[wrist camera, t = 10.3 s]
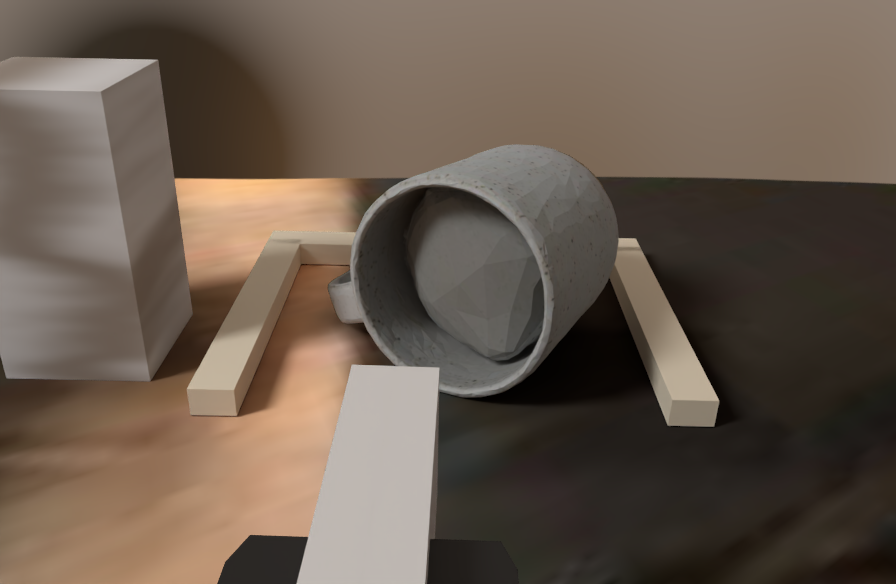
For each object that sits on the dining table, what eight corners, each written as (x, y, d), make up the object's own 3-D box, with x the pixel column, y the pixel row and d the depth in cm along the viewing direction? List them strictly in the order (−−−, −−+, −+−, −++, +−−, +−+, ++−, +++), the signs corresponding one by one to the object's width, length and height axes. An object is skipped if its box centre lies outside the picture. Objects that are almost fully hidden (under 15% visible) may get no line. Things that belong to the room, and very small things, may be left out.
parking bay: (632, 258, 38) (635, 238, 38) (714, 426, 26) (719, 400, 26) (275, 250, 38) (273, 230, 38) (190, 415, 26) (186, 389, 26)
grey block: (192, 314, 32) (158, 60, 28) (150, 381, 28) (101, 91, 24) (68, 311, 32) (14, 56, 28) (6, 378, 28) (-70, 87, 24)
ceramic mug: (620, 322, 33) (641, 134, 29) (545, 427, 26) (560, 201, 23) (395, 271, 37) (390, 103, 34) (282, 349, 30) (263, 151, 27)
